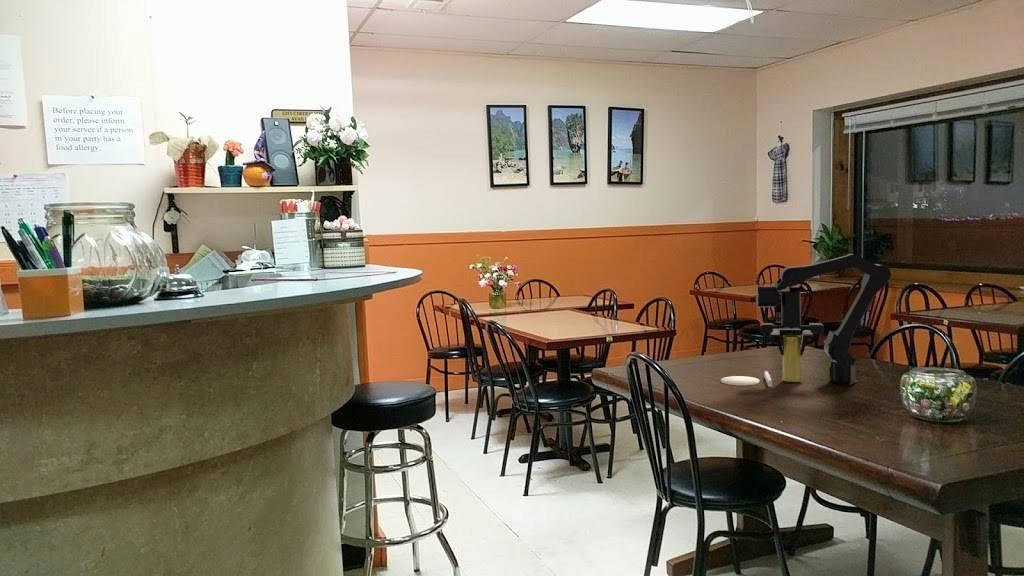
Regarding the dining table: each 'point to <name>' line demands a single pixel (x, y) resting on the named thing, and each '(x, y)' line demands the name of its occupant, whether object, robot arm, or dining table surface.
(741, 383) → the mat
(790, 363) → the vase
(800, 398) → the dining table surface
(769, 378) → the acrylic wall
